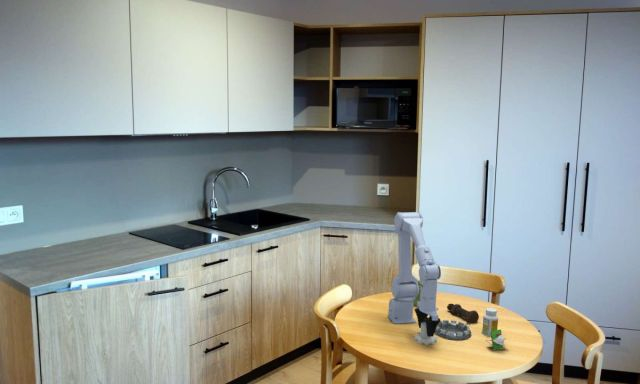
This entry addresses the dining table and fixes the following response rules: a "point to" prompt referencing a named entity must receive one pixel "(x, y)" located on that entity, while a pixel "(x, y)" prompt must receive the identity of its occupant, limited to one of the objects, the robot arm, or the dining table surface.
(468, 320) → the bolt
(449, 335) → the carrier
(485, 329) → the supplement bottle
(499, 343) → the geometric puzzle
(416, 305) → the plant pot
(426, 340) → the planet gear
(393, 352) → the dining table surface
